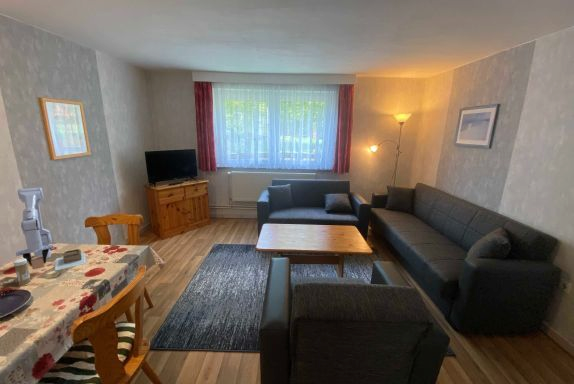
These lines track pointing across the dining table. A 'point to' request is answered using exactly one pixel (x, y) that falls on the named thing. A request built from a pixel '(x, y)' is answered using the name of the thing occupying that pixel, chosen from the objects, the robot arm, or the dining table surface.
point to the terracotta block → (37, 262)
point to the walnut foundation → (72, 256)
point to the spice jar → (22, 271)
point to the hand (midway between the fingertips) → (38, 264)
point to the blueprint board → (61, 265)
